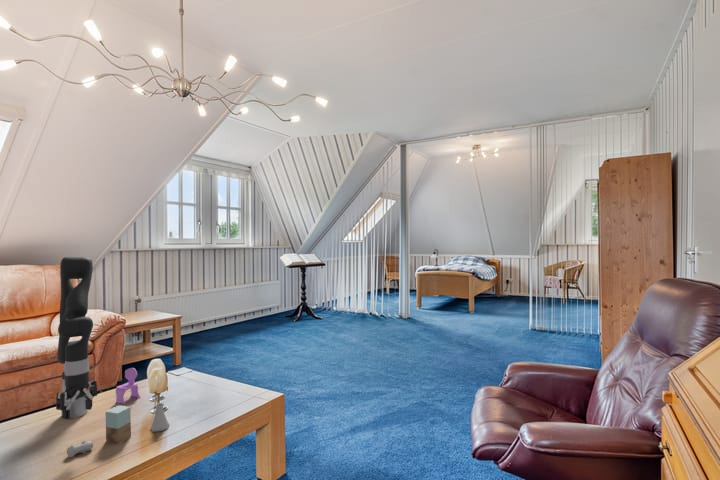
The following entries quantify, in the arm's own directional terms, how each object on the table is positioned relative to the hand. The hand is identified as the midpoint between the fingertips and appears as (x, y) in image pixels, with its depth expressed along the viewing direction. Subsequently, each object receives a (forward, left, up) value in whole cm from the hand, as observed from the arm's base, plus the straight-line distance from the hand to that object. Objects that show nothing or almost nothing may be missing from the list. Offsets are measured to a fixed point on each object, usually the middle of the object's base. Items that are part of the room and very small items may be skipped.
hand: (77, 414), depth 150 cm
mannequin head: (0, 0, -15) cm, 15 cm away
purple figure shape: (-22, +43, -15) cm, 51 cm away
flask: (+15, +24, -15) cm, 32 cm away
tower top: (+6, +12, -9) cm, 16 cm away
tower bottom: (+6, +12, -15) cm, 20 cm away
